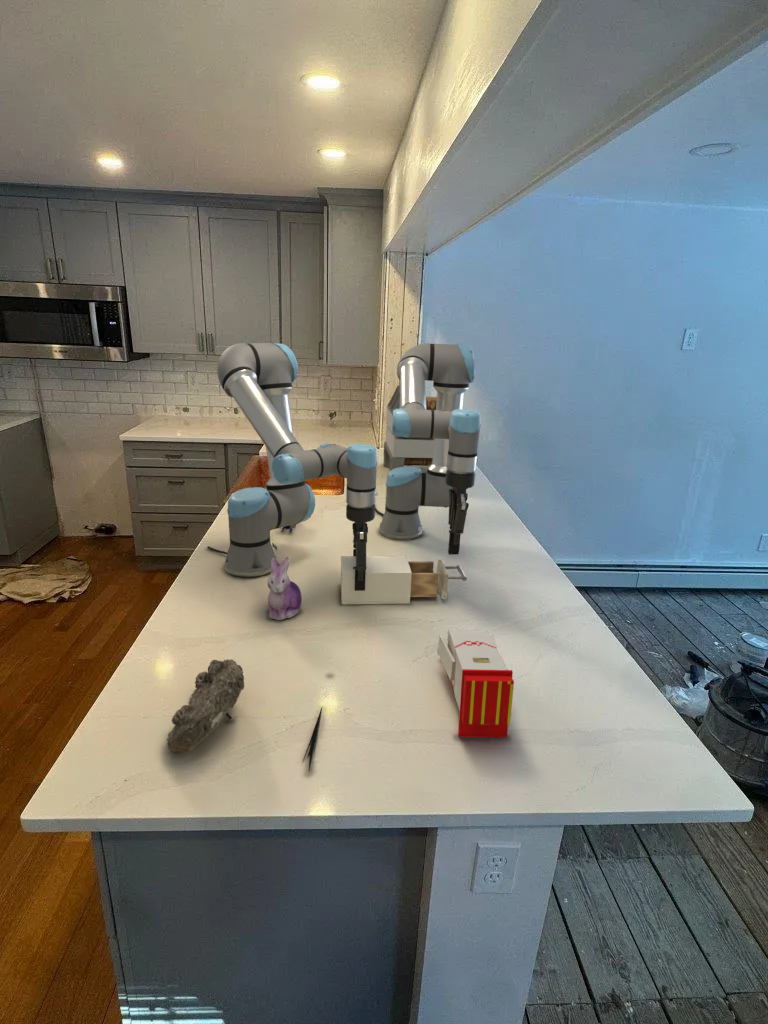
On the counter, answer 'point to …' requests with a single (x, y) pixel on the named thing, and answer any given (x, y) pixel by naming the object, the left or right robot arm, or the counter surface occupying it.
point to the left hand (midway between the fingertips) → (358, 580)
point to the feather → (313, 740)
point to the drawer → (431, 578)
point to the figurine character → (288, 527)
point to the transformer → (406, 440)
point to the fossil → (206, 705)
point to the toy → (478, 682)
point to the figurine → (282, 592)
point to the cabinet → (377, 580)
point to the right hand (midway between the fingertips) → (453, 553)
